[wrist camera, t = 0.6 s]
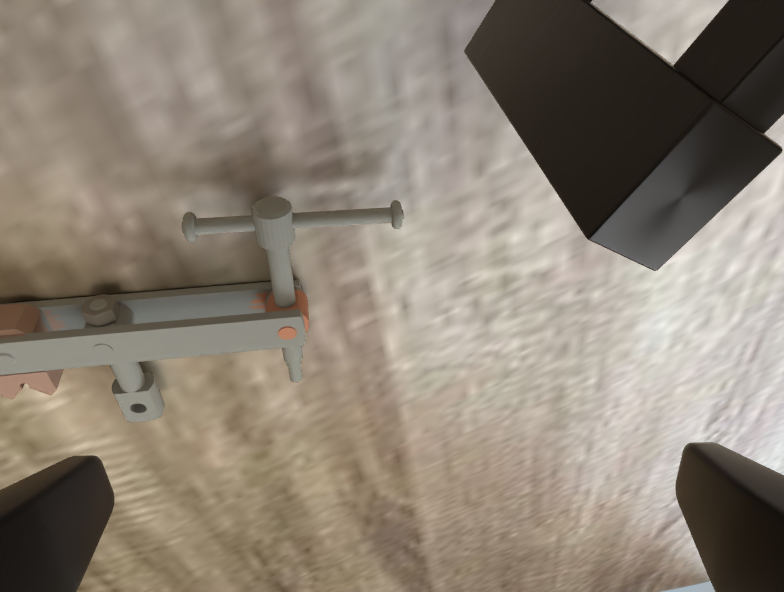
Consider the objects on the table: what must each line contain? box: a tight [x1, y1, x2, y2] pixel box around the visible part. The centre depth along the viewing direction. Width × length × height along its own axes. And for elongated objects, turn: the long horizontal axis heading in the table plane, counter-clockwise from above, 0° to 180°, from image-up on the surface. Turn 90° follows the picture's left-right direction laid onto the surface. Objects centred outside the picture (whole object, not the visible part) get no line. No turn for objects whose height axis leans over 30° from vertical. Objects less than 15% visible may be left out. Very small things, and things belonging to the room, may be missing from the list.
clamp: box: [0, 196, 404, 422], centre depth 22 cm, size 15×2×10 cm
